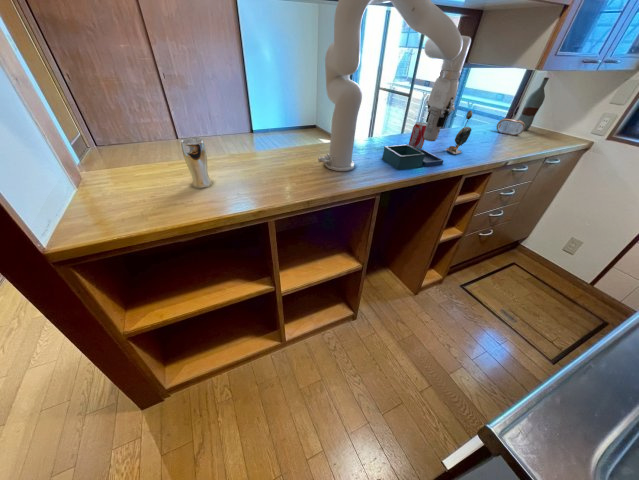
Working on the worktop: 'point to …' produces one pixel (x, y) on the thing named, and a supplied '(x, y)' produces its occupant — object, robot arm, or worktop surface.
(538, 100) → the bottle
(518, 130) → the tin
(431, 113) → the energy drink can
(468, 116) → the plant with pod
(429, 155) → the tray
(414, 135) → the soda can
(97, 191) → the worktop surface
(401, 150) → the basket
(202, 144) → the beer glass
